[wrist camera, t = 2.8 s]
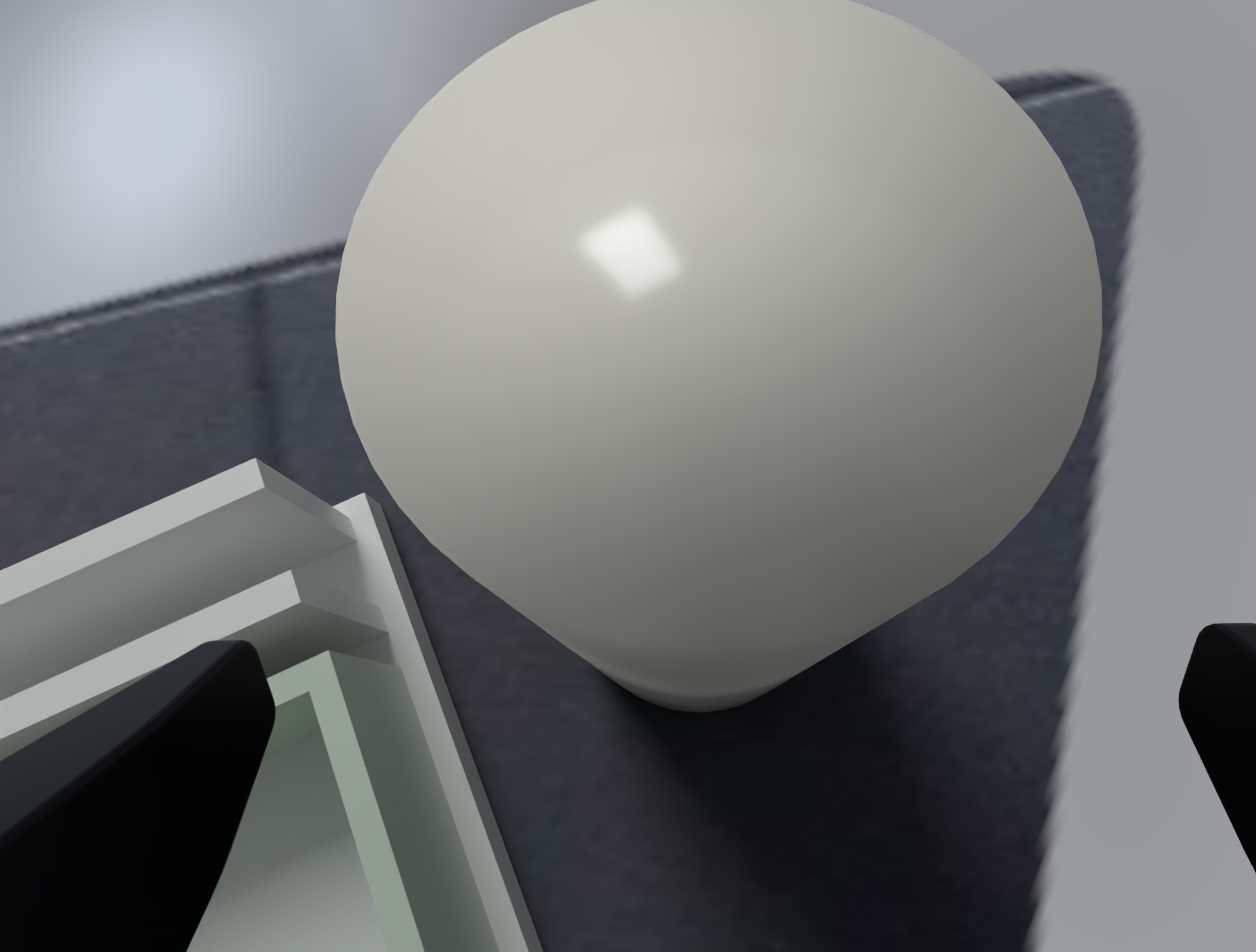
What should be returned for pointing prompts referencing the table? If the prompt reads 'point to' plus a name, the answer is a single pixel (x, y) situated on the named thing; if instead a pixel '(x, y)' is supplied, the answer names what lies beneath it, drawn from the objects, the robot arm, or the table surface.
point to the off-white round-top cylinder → (718, 330)
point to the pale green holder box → (284, 711)
